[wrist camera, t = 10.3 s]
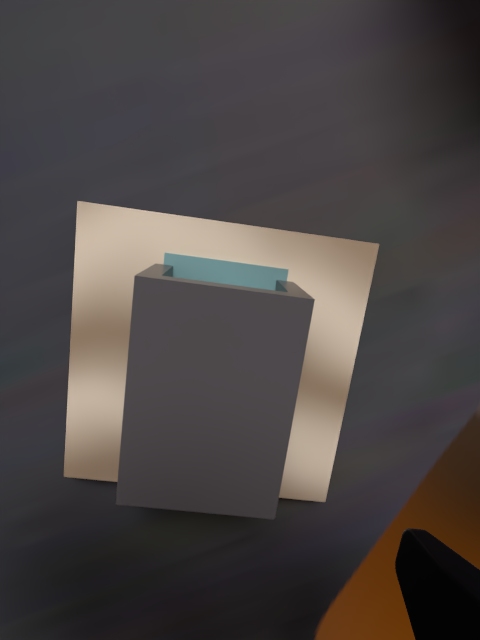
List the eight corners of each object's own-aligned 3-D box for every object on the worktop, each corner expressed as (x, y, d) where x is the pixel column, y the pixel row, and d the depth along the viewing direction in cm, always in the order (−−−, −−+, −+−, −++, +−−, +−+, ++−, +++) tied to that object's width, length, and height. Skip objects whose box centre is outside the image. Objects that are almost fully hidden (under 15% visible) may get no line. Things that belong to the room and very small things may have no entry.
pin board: (318, 482, 21) (340, 542, 17) (75, 458, 20) (39, 515, 16) (366, 242, 18) (405, 247, 14) (89, 203, 17) (50, 196, 13)
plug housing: (264, 457, 19) (274, 519, 15) (138, 444, 18) (115, 504, 14) (293, 282, 17) (314, 299, 13) (155, 263, 16) (134, 275, 13)
